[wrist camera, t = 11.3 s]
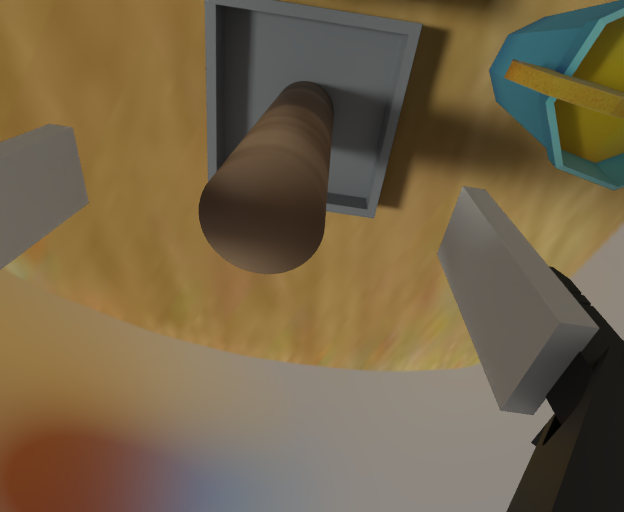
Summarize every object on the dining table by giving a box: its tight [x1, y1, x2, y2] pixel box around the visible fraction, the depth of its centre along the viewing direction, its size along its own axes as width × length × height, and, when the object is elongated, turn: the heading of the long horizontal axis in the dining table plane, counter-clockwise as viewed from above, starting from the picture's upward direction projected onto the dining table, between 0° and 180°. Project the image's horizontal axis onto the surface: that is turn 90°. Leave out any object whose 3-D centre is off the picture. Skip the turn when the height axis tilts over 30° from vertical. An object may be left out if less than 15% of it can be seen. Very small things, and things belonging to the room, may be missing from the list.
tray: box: [205, 0, 422, 218], centre depth 25 cm, size 12×12×2 cm
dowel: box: [199, 81, 334, 274], centre depth 19 cm, size 4×4×16 cm
